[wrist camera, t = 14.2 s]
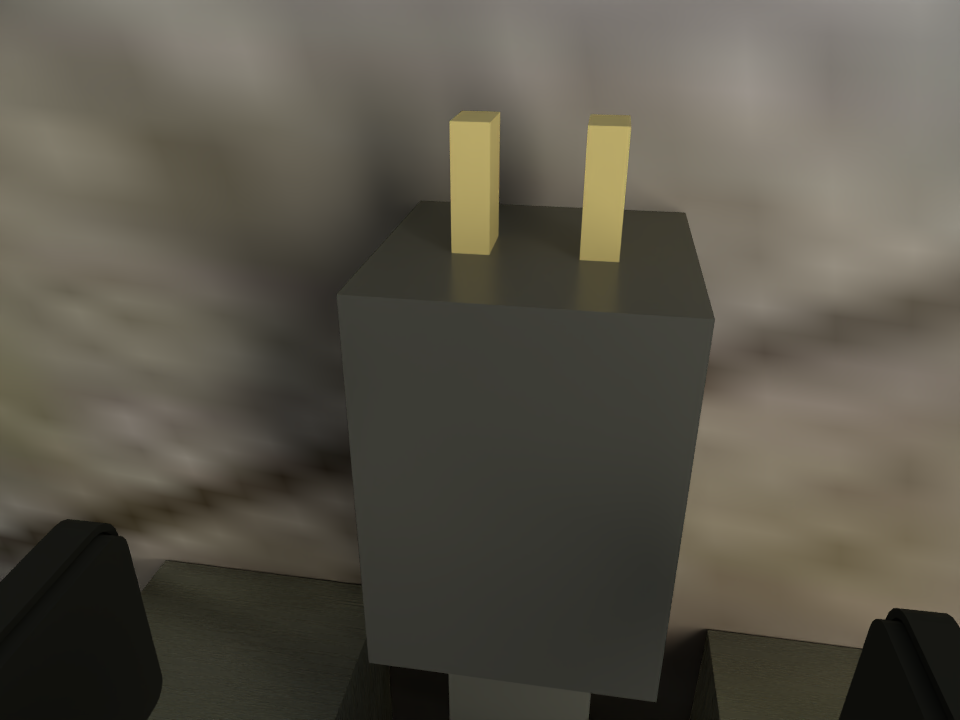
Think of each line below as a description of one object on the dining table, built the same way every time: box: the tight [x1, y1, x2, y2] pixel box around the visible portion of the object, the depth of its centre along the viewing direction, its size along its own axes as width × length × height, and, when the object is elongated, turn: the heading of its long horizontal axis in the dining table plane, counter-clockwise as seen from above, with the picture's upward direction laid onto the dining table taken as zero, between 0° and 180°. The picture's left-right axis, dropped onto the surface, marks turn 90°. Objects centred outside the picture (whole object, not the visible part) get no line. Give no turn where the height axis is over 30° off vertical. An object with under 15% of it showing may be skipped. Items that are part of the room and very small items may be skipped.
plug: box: [336, 111, 715, 720], centre depth 17 cm, size 5×24×5 cm, turn 0°
